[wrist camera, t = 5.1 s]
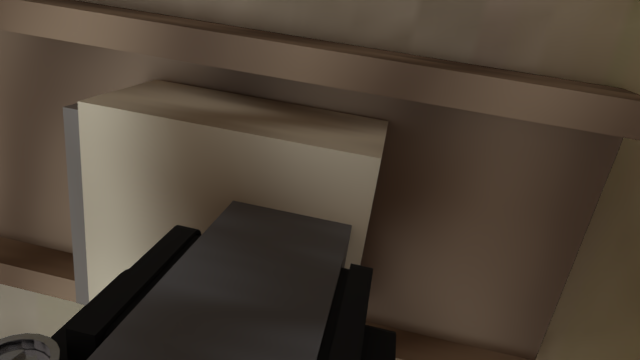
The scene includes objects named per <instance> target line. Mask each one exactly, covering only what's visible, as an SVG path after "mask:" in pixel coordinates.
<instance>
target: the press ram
mask: <svg viewBox="0 0 640 360" xmlns="http://www.w3.org/2000/svg"><path fill="white" fill-rule="evenodd" d="M77 102H78V103H75V104H72V105H68V106H65V107H63V119H64V133H65V147H66V162H67V176H68V190H69V204H70V219H71V233H72V247H73V262H74V276H75V290H76V303H79V304H83V305H87V304H88V303H89V302H90V301H91V300H92V299H93V298H94V297H95V296H96V295H97V294H99V293H100V292H101V291H102V290H103V289H104V288H105V287H106V286H107V285H108V284H109V283H111V282H112V281H113V280H114V279H115V278H116V277H117V276H118V275H119V274H120V273H122V272H123V271H124V270H126V269H129V268H130V267H131V266H133V265H134V264H135V263H136V262H137V261H138V260H139V259H140V258H141V257H142V256H143V255H144V254H145V253H147V252H148V251H149V250H150V249H151V248H152V247H153V246H154V245H155V244H156V243H157V242H158V241H159V240H160V239H162V238H163V237H164V236H165V235H166V234H167V233H168V232H169V231H170V230H171V229H172V228H173V227H174V226H176V225H181V226H185V227H190V228H194V229H199V230H200V231H201V234H202V235H201V236H200V237H199V238H198V239H197V241H196V242H195V243H194V244H193V245H192V246H191V247H190V248H189V249H188V250H187V251H186V252H185V254H184V255H183V256H182V257H181V258H180V259H179V260H178V261H177V262H176V263H175V264H174V266H173V267H172V268H171V269H170V270H169V271H168V272H167V273H166V274H165V275H164V276H163V277H162V279H161V280H160V281H159V282H158V283H157V284H156V285H155V286H154V287H153V288H152V289H151V290H150V292H149V293H148V294H147V295H146V296H145V297H144V298H143V299H142V300H141V301H140V302H139V304H138V305H137V306H136V307H135V308H134V309H133V310H132V311H131V312H130V313H129V314H128V315H127V317H126V318H125V319H124V320H123V321H122V322H121V323H120V324H119V325H118V326H117V327H116V329H115V330H114V331H113V332H112V333H111V334H110V335H109V336H108V337H107V338H106V339H105V340H104V342H103V343H102V344H101V345H100V346H99V347H98V348H97V349H96V350H95V351H94V352H93V354H92V355H91V356H90V357H89V358H88V359H87V360H317V357H318V354H319V350H320V346H321V342H322V339H323V335H324V331H325V327H326V323H327V320H328V316H329V312H330V308H331V305H332V301H333V297H334V293H335V289H336V286H337V282H338V278H339V274H340V271H341V267H342V268H346V269H350V265H351V263H352V264H356V265H360V264H361V259H362V254H363V249H364V244H365V239H366V234H367V229H368V224H369V219H370V214H371V209H372V204H373V199H374V194H375V189H376V184H377V178H378V173H379V168H380V163H381V158H382V153H383V148H384V143H385V137H386V132H387V127H388V121H384V120H379V119H373V118H368V117H362V116H356V115H351V114H345V113H340V112H334V111H329V110H323V109H317V108H312V107H306V106H301V105H295V104H289V103H284V102H278V101H273V100H267V99H262V98H256V97H250V96H245V95H239V94H234V93H228V92H222V91H217V90H211V89H206V88H200V87H194V86H189V85H183V84H178V83H172V82H167V81H161V80H152V81H148V82H145V83H141V84H138V85H134V86H131V87H127V88H123V89H120V90H116V91H113V92H109V93H105V94H102V95H98V96H95V97H91V98H87V99H84V100H80V101H77Z"/></svg>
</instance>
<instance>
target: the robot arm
mask: <svg viewBox="0 0 640 360" xmlns="http://www.w3.org/2000/svg"><path fill="white" fill-rule="evenodd" d="M201 235H202V234H201V231H200V230H199V229H194V228H190V227H185V226H181V225H176V226H174V227H173V228H172V229H171V230H170V231H169V232H168V233H167V234H166V235H165V236H164V237H163V238H162V239H160V240H159V241H158V242H157V243H156V244H155V245H154V246H153V247H152V248H151V249H150V250H149V251H148V252H147V253H145V254H144V255H143V256H142V257H141V258H140V259H139V260H138V261H137V262H136V263H135V264H134V265H133V266H131V267H130V268H129V269H126V270H124V271H123V272H122V273H120V274H119V275H118V276H117V277H116V278H115V279H114V280H113V281H112V282H111V283H109V284H108V285H107V286H106V287H105V288H104V289H103V290H102V291H101V292H100V293H99V294H97V295H96V296H95V297H94V298H93V299H92V300H91V301H90V302H89V303H88V304H87V305H86V306H84V307H83V308H82V309H81V310H80V311H79V312H78V313H77V314H76V315H75V316H74V317H72V318H71V319H70V320H69V321H68V322H67V323H66V324H65V325H64V326H63V327H62V328H60V329H59V330H58V331H57V332H56V333H55V334H54V335H53V336H52V337H51V338H50V337H48V336H44V335H41V334H30V333H25V334H18V335H11V336H8V337H5V338H2V339H0V360H87V359H88V358H89V357H90V356H91V355H92V354H93V352H94V351H95V350H96V349H97V348H98V347H99V346H100V345H101V344H102V343H103V342H104V340H105V339H106V338H107V337H108V336H109V335H110V334H111V333H112V332H113V331H114V330H115V329H116V327H117V326H118V325H119V324H120V323H121V322H122V321H123V320H124V319H125V318H126V317H127V315H128V314H129V313H130V312H131V311H132V310H133V309H134V308H135V307H136V306H137V305H138V304H139V302H140V301H141V300H142V299H143V298H144V297H145V296H146V295H147V294H148V293H149V292H150V290H151V289H152V288H153V287H154V286H155V285H156V284H157V283H158V282H159V281H160V280H161V279H162V277H163V276H164V275H165V274H166V273H167V272H168V271H169V270H170V269H171V268H172V267H173V266H174V264H175V263H176V262H177V261H178V260H179V259H180V258H181V257H182V256H183V255H184V254H185V252H186V251H187V250H188V249H189V248H190V247H191V246H192V245H193V244H194V243H195V242H196V241H197V239H198V238H199V237H200V236H201ZM372 274H373V268H370V267H365V266H361V265H356V264H352V263H351V265H350V269H346V268H342V267H341V271H340V274H339V278H338V282H337V286H336V289H335V293H334V297H333V301H332V305H331V308H330V312H329V316H328V320H327V323H326V327H325V331H324V335H323V339H322V342H321V346H320V350H319V354H318V357H317V360H395V358H396V332H394V331H390V330H386V329H382V328H378V327H374V326H369V325H365V324H366V317H367V310H368V302H369V295H370V288H371V281H372Z"/></svg>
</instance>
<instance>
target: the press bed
mask: <svg viewBox="0 0 640 360" xmlns="http://www.w3.org/2000/svg"><path fill="white" fill-rule="evenodd" d="M152 80H161V81H167V82H172V83H178V84H183V85H189V86H194V87H200V88H206V89H211V90H217V91H222V92H228V93H234V94H239V95H245V96H250V97H256V98H262V99H267V100H273V101H278V102H284V103H289V104H295V105H301V106H306V107H312V108H317V109H323V110H329V111H334V112H340V113H345V114H351V115H356V116H362V117H368V118H373V119H379V120H384V121H388V127H387V132H386V137H385V143H384V148H383V153H382V158H381V163H380V168H379V173H378V178H377V184H376V189H375V194H374V199H373V204H372V209H371V214H370V219H369V224H368V229H367V234H366V239H365V244H364V249H363V254H362V259H361V264H360V265H361V266H365V267H370V268H373V274H372V281H371V288H370V295H369V302H368V310H367V317H366V324H365V325H369V326H374V327H378V328H382V329H386V330H390V331H394V332H396V358H395V360H535V359H536V357H537V354H538V351H539V349H540V346H541V344H542V341H543V339H544V336H545V334H546V331H547V329H548V326H549V324H550V321H551V319H552V316H553V314H554V311H555V309H556V306H557V304H558V301H559V299H560V296H561V294H562V291H563V289H564V286H565V284H566V281H567V279H568V276H569V274H570V271H571V269H572V266H573V264H574V261H575V259H576V256H577V254H578V251H579V248H580V246H581V243H582V241H583V238H584V236H585V233H586V231H587V228H588V226H589V223H590V221H591V218H592V216H593V213H594V211H595V208H596V206H597V203H598V201H599V198H600V196H601V193H602V191H603V188H604V186H605V183H606V181H607V178H608V176H609V173H610V171H611V168H612V166H613V163H614V161H615V158H616V156H617V153H618V151H619V148H620V145H621V143H622V140H623V138H630V139H635V140H640V95H638V94H635V93H633V92H630V91H627V90H625V89H621V88H615V87H609V86H602V85H596V84H590V83H584V82H578V81H571V80H565V79H559V78H553V77H546V76H540V75H534V74H528V73H522V72H515V71H509V70H503V69H497V68H491V67H484V66H478V65H472V64H466V63H459V62H453V61H447V60H441V59H435V58H428V57H422V56H416V55H410V54H403V53H397V52H391V51H385V50H379V49H372V48H366V47H360V46H354V45H348V44H341V43H335V42H329V41H323V40H316V39H310V38H304V37H298V36H292V35H285V34H279V33H273V32H267V31H260V30H254V29H248V28H242V27H236V26H229V25H223V24H217V23H211V22H205V21H198V20H192V19H186V18H180V17H173V16H167V15H161V14H155V13H149V12H142V11H136V10H130V9H124V8H117V7H111V6H105V5H99V4H93V3H86V2H80V1H74V0H0V284H4V285H8V286H12V287H16V288H20V289H24V290H29V291H33V292H37V293H41V294H45V295H49V296H53V297H57V298H61V299H65V300H69V301H73V302H76V290H75V276H74V262H73V247H72V233H71V219H70V204H69V190H68V176H67V162H66V147H65V133H64V119H63V107H65V106H68V105H72V104H75V103H78V102H77V101H80V100H84V99H87V98H91V97H95V96H98V95H102V94H105V93H109V92H113V91H116V90H120V89H123V88H127V87H131V86H134V85H138V84H141V83H145V82H148V81H152Z"/></svg>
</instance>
